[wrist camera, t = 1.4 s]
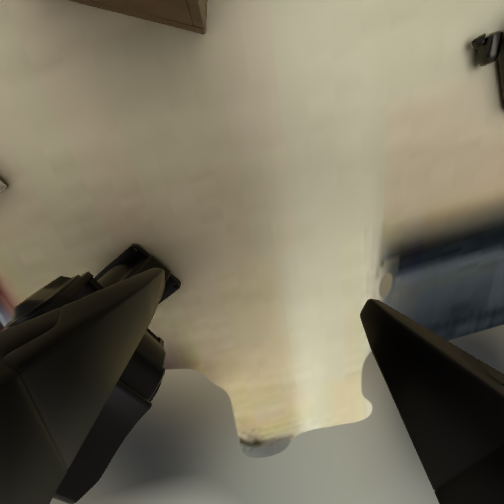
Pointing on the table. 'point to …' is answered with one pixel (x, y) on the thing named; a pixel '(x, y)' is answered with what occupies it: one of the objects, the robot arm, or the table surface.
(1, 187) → the usb wall charger
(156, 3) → the walnut box
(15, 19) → the table surface
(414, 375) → the robot arm
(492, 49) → the black travel adapter
